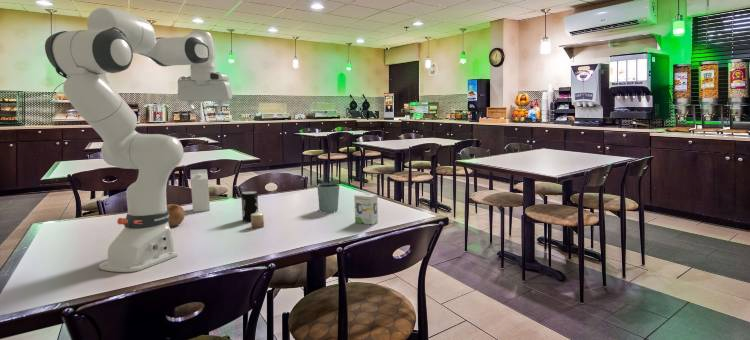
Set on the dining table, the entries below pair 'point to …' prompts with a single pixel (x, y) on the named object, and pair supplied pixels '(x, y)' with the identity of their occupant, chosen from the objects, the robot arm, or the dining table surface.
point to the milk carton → (200, 190)
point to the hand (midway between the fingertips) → (205, 113)
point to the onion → (175, 214)
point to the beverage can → (249, 204)
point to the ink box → (366, 208)
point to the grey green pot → (328, 197)
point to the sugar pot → (257, 220)
